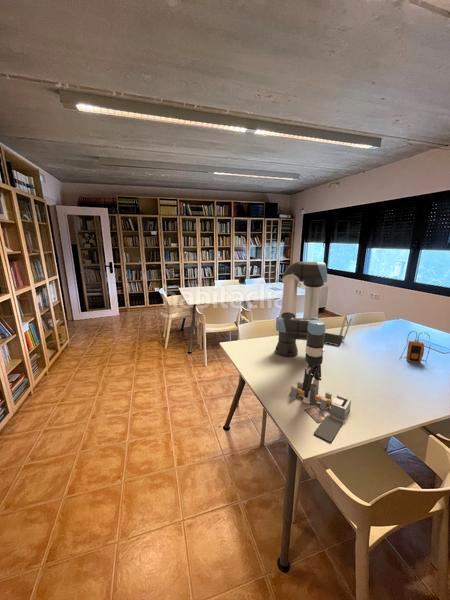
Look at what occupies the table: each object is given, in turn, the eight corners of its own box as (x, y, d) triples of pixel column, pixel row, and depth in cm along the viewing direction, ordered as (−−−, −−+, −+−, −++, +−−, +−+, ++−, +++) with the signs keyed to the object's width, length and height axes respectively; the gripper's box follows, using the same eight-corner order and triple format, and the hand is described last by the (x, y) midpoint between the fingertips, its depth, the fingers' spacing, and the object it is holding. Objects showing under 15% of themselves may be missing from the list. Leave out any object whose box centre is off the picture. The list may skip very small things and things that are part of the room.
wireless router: (300, 338, 196) (301, 314, 192) (309, 330, 214) (310, 308, 210) (346, 348, 177) (349, 321, 173) (351, 338, 195) (354, 314, 191)
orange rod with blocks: (289, 394, 122) (289, 381, 121) (293, 390, 126) (293, 377, 125) (340, 413, 107) (341, 399, 106) (343, 408, 111) (344, 394, 109)
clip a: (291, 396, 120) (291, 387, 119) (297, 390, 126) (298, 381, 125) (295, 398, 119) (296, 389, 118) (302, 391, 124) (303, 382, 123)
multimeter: (423, 357, 161) (428, 328, 157) (428, 364, 152) (433, 333, 148) (396, 354, 167) (400, 326, 163) (399, 360, 158) (404, 330, 154)
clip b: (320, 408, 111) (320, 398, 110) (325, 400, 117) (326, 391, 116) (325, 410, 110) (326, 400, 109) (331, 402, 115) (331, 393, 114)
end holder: (330, 413, 108) (331, 403, 107) (336, 404, 115) (337, 394, 113) (344, 419, 104) (345, 409, 103) (350, 409, 111) (351, 399, 110)
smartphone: (343, 422, 102) (331, 442, 91) (343, 423, 103) (330, 444, 92) (326, 414, 107) (313, 433, 96) (326, 416, 107) (312, 435, 96)
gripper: (312, 365, 102) (309, 412, 107) (330, 348, 119) (327, 389, 124) (295, 360, 107) (293, 405, 112) (315, 344, 124) (312, 384, 128)
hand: (310, 397), depth 118 cm, fingers open, 10 cm apart
